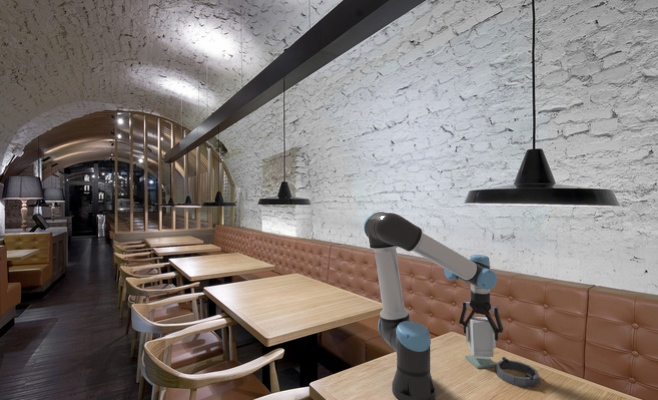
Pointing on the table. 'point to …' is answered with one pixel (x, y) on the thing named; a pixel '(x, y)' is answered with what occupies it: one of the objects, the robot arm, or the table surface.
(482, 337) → the skincare box
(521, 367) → the locking ring
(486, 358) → the plate
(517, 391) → the table surface
